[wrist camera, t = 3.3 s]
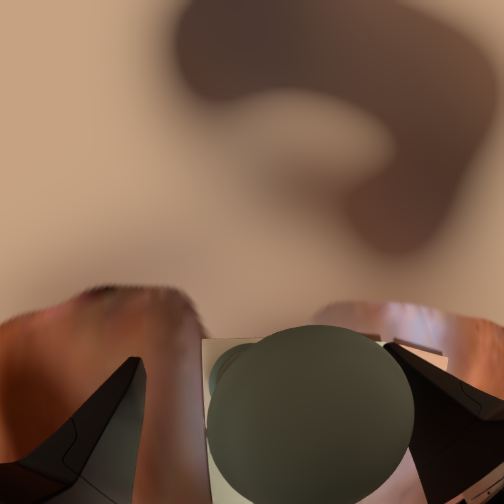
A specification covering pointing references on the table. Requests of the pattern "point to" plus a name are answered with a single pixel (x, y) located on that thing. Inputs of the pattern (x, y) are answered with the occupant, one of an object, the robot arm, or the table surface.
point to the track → (223, 494)
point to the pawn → (308, 416)
